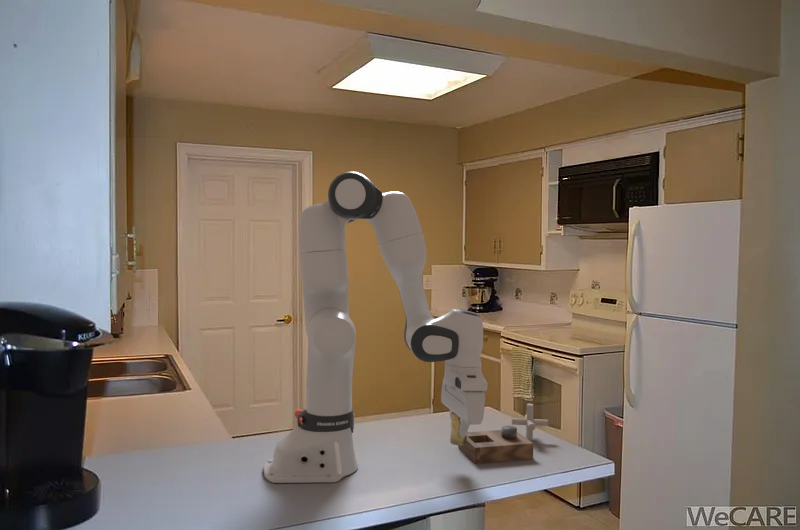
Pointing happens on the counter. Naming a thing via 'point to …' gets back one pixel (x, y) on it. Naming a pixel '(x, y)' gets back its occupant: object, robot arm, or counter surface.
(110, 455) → the counter surface
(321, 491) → the counter surface
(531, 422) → the pipe connector
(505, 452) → the jig
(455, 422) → the tan cylinder
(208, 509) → the counter surface
